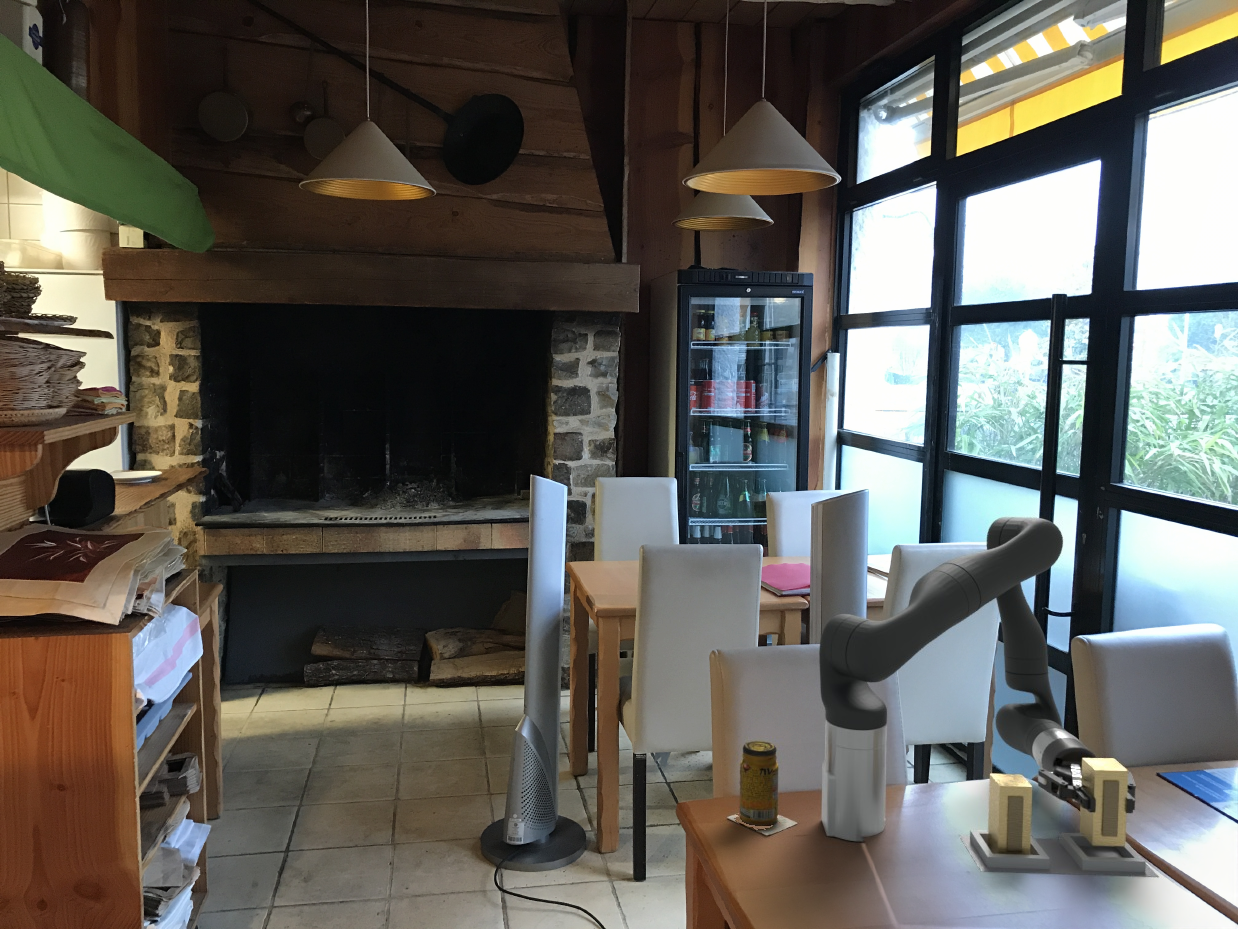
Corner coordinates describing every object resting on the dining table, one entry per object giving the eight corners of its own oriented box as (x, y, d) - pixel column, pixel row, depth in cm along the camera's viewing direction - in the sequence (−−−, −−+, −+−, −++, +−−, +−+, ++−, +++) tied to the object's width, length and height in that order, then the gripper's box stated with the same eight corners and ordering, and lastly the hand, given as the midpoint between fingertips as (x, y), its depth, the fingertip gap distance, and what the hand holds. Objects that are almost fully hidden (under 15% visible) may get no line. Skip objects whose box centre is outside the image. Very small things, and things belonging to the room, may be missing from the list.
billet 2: (1093, 846, 139) (1096, 771, 138) (1079, 831, 144) (1082, 758, 143) (1126, 847, 139) (1129, 771, 138) (1111, 831, 143) (1114, 758, 142)
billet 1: (998, 862, 140) (1000, 786, 139) (987, 846, 145) (989, 773, 144) (1030, 863, 139) (1033, 787, 139) (1019, 847, 144) (1021, 774, 143)
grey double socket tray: (980, 878, 137) (981, 861, 137) (958, 842, 148) (959, 826, 148) (1158, 883, 136) (1159, 866, 135) (1123, 847, 147) (1123, 830, 146)
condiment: (757, 806, 161) (758, 735, 160) (798, 824, 154) (798, 749, 154) (726, 819, 156) (727, 745, 156) (766, 837, 150) (767, 760, 149)
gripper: (1019, 736, 155) (1060, 779, 138) (1112, 737, 154) (1165, 781, 137) (1017, 782, 156) (1059, 831, 139) (1110, 783, 155) (1163, 833, 138)
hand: (1111, 806), depth 138 cm, fingers closed on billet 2, 4 cm apart
